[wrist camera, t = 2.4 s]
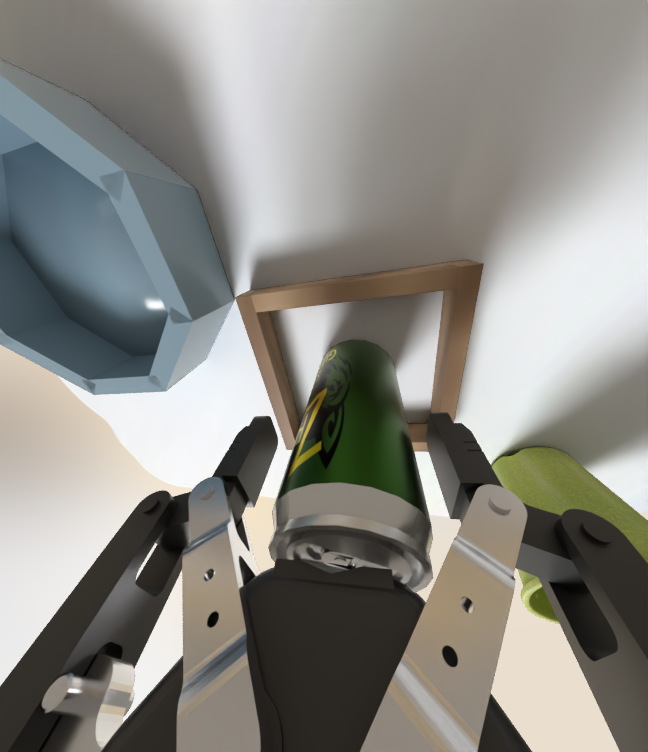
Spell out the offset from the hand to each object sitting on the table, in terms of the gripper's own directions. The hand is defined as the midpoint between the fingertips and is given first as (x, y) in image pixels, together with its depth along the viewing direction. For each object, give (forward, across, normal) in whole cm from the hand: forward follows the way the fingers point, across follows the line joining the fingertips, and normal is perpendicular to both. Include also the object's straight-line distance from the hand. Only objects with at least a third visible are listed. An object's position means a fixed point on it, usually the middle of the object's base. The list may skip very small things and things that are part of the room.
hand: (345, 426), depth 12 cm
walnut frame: (+6, 0, 0) cm, 6 cm away
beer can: (+6, 0, 0) cm, 6 cm away
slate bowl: (+6, +15, -9) cm, 18 cm away
